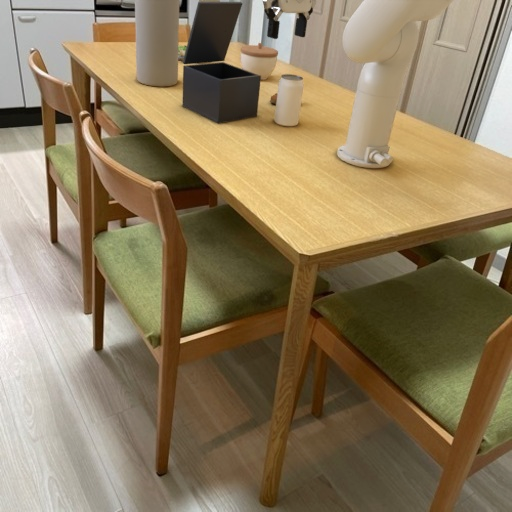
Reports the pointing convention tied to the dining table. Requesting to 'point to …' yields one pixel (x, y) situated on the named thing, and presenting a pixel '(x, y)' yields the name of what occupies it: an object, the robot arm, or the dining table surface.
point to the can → (289, 100)
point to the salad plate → (181, 52)
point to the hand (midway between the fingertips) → (286, 37)
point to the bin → (220, 91)
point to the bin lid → (211, 31)
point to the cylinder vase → (157, 41)
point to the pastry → (274, 98)
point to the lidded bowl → (259, 59)
